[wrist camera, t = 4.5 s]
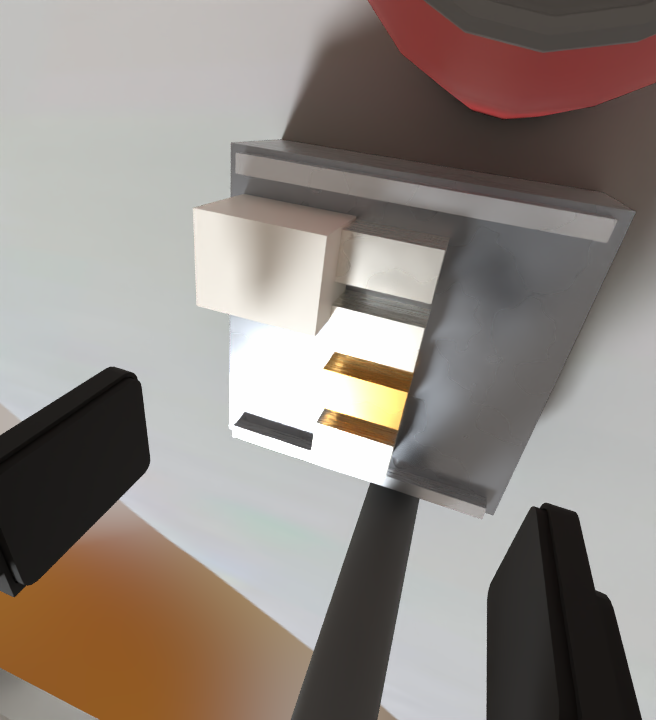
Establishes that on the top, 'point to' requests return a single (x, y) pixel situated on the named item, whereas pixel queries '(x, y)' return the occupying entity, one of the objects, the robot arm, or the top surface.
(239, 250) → the white block
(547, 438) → the top surface
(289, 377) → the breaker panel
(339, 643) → the post
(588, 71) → the beer can
